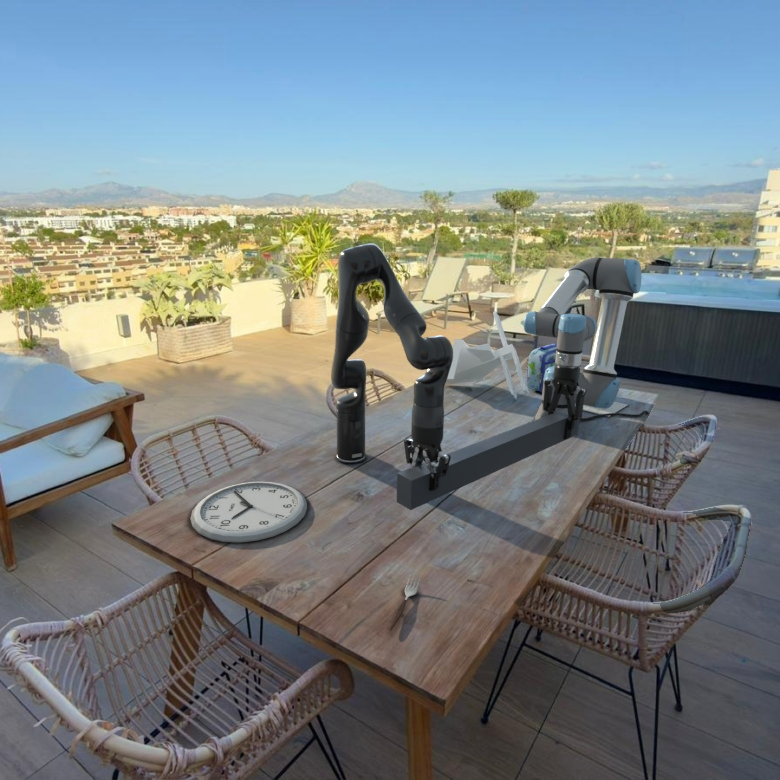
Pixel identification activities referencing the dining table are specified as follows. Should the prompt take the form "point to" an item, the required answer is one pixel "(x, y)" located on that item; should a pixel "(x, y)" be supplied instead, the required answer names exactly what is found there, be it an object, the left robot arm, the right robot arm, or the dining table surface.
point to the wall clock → (248, 512)
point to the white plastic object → (484, 361)
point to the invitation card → (612, 409)
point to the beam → (483, 459)
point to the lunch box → (540, 365)
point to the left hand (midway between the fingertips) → (425, 485)
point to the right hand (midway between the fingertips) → (559, 435)
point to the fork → (409, 592)
